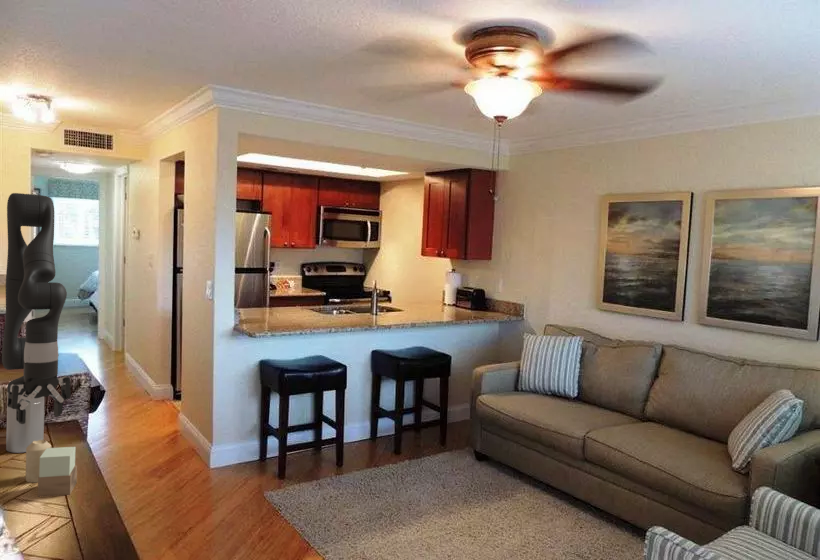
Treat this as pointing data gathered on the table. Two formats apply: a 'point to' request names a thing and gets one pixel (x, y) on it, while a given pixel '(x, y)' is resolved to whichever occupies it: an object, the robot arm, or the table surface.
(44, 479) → the base block
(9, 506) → the table surface
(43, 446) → the candle
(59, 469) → the top block
